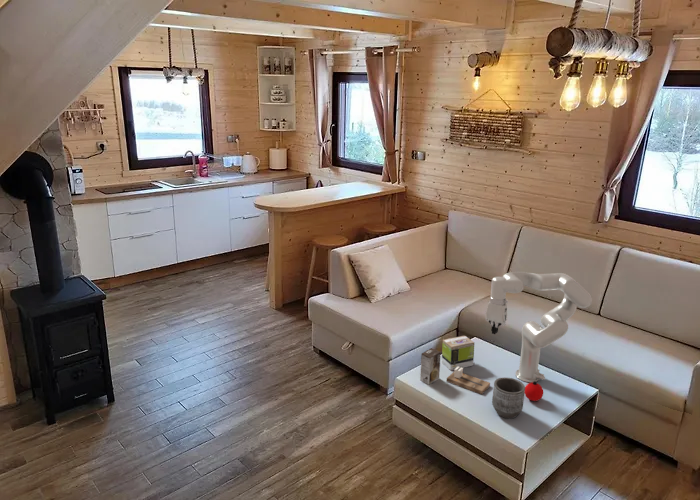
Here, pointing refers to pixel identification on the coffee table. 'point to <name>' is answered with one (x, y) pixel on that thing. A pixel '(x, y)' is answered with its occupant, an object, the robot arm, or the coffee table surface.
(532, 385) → the ornament
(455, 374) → the fader
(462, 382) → the fader console
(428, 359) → the coffee box
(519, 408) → the planter
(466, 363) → the tea box
